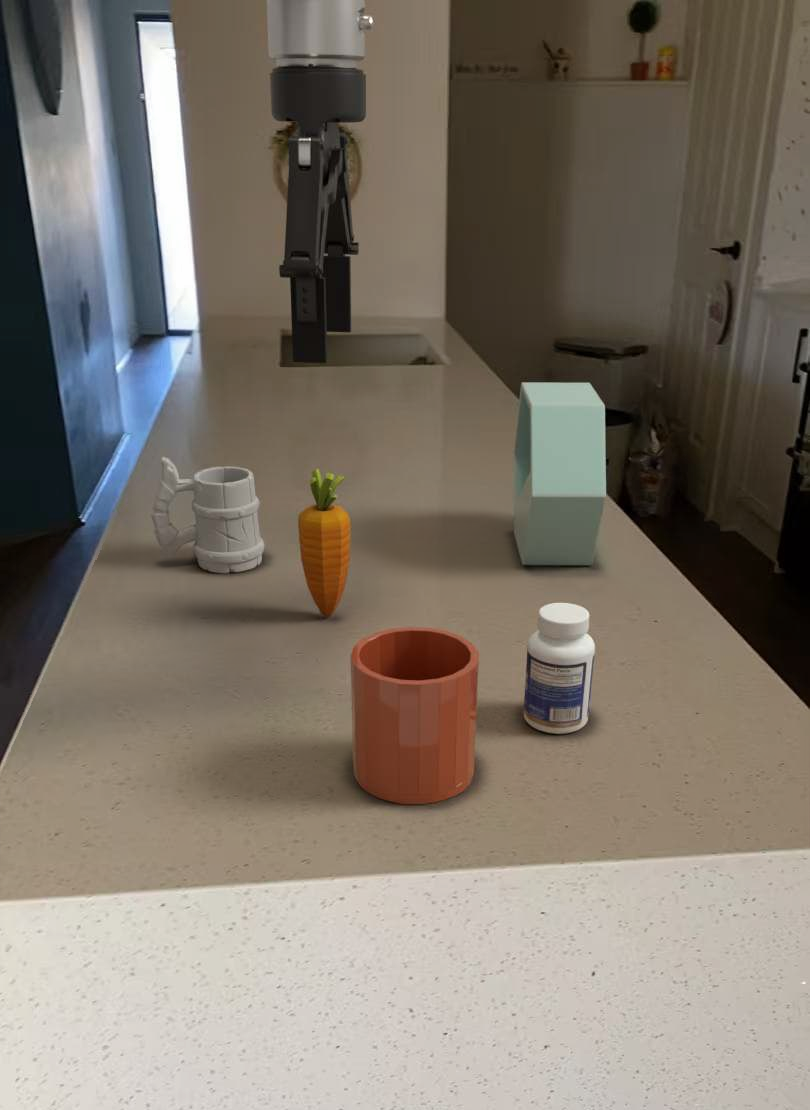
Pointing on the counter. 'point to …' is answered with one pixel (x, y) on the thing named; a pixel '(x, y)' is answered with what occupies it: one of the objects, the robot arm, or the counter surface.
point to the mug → (212, 517)
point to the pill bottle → (559, 670)
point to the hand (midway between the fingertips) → (324, 346)
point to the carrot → (325, 544)
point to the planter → (559, 473)
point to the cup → (414, 714)
